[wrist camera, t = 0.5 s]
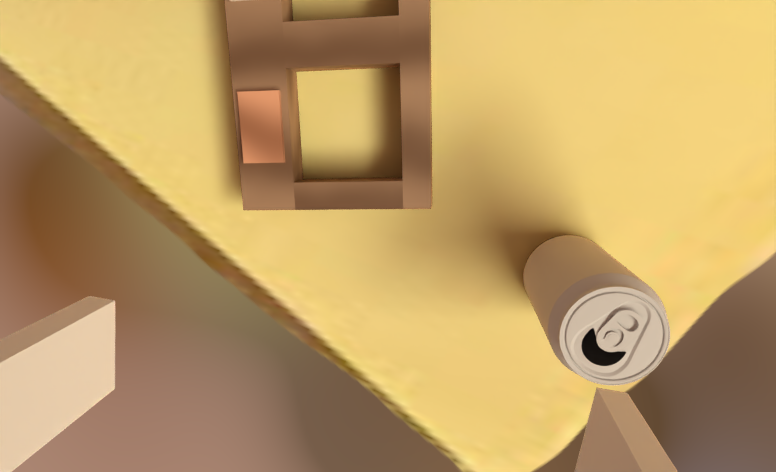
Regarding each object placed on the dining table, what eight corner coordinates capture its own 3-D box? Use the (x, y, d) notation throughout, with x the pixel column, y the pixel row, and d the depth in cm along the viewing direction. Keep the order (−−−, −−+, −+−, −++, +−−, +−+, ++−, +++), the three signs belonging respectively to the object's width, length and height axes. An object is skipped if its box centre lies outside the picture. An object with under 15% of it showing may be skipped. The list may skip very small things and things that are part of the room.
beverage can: (504, 281, 39) (527, 347, 27) (559, 215, 38) (607, 256, 26) (570, 328, 39) (620, 415, 28) (627, 265, 38) (706, 328, 26)
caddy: (228, -121, 35) (209, -142, 32) (429, -140, 34) (426, -164, 31) (256, 204, 40) (241, 211, 37) (432, 203, 38) (430, 209, 36)
